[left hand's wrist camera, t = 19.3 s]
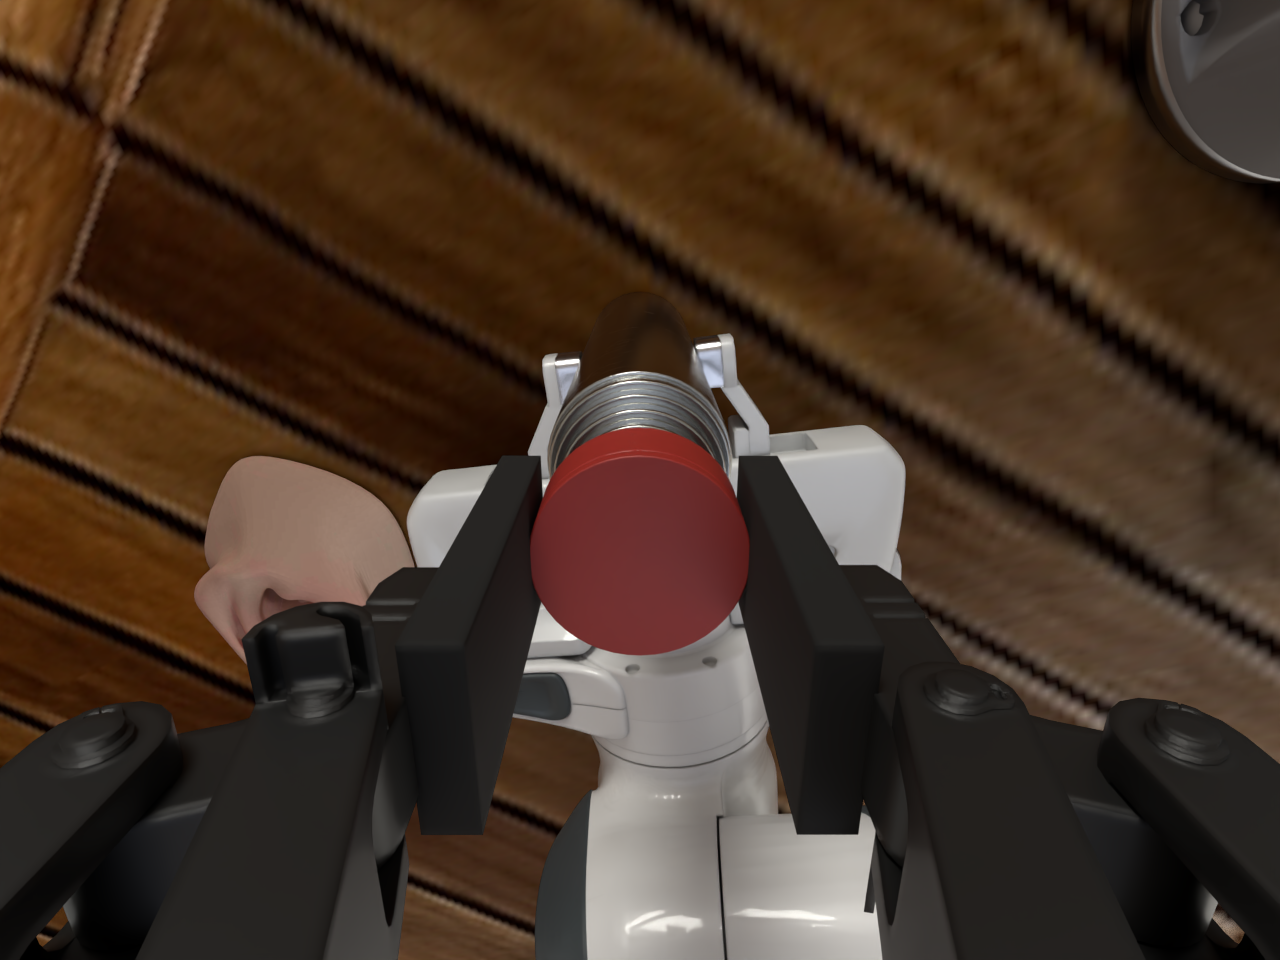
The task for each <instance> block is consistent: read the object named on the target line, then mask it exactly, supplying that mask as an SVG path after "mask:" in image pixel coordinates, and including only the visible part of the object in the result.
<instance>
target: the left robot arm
mask: <svg viewBox="0 0 1280 960" xmlns="http://www.w3.org/2000/svg"><path fill="white" fill-rule="evenodd" d="M1131 46H1132V58H1133V64H1134V70H1135V76H1136V80H1137V83H1138V87H1139V90H1140V94H1141V96H1142V99H1143V101H1144V104H1145V106H1146V109H1147V111H1148V113H1149V114H1150V116H1151V118H1152V120H1153V122H1154V124H1155V125H1156V127H1157V128H1158V129H1159V131H1160V132H1161V134H1162V135H1163V136H1164V138H1165V139H1166V140H1167V141H1168V142H1169V143H1170V144H1171V145H1172V146H1173V147H1174V149H1175V150H1177V151H1178V152H1179V153H1180V154H1181V155H1183V156H1184V157H1185V158H1186V159H1187V160H1189V161H1191V162H1192V163H1194V164H1195V165H1197V166H1198V167H1200V168H1202V169H1204V170H1206V171H1208V172H1210V173H1213V174H1215V175H1218V176H1221V177H1224V178H1227V179H1231V180H1236V181H1241V182H1247V183H1259V184H1268V183H1280V0H1133V7H1132V16H1131ZM542 499H543V489H542V470H541V456H502V457H501V459H500V460H499V462H498V464H497V466H496V467H495V469H494V471H493V473H492V475H491V476H490V478H489V480H488V482H487V483H486V485H485V487H484V489H483V490H482V492H481V494H480V496H479V497H478V499H477V501H476V503H475V505H474V506H473V508H472V510H471V512H470V513H469V515H468V517H467V519H466V520H465V522H464V524H463V526H462V528H461V529H460V531H459V533H458V535H457V536H456V538H455V540H454V542H453V543H452V545H451V547H450V549H449V550H448V552H447V554H446V556H445V558H444V559H443V561H442V563H441V565H440V566H439V567H403V568H401V569H400V570H398V571H396V572H395V573H393V574H392V575H390V576H389V577H387V578H386V579H384V580H383V581H381V582H380V583H378V585H377V586H376V588H375V589H374V591H373V592H372V593H371V595H370V596H369V598H368V599H367V600H366V605H363V606H359V605H355V604H351V603H347V602H317V603H311V604H306V605H300V606H296V607H293V608H290V609H287V610H285V611H282V612H279V613H276V614H273V615H272V616H270V617H268V618H267V619H265V620H263V621H261V622H260V623H258V624H256V625H255V626H253V627H252V628H251V630H250V631H249V632H248V633H247V634H246V635H245V636H244V637H243V638H242V639H241V640H242V644H243V649H244V653H245V657H246V662H247V666H248V671H249V675H250V679H251V684H252V688H253V693H254V697H255V701H256V705H255V708H254V710H253V712H252V714H251V716H250V718H248V719H245V720H241V721H237V722H234V723H230V724H225V725H220V726H215V727H210V728H205V729H200V730H195V731H190V732H185V733H181V734H177V732H176V729H175V725H174V722H173V718H172V714H171V713H170V712H169V711H167V710H166V709H165V708H164V707H163V706H162V705H159V704H154V703H148V702H143V701H139V702H128V703H117V704H111V705H106V706H103V707H102V708H99V707H98V708H95V709H92V710H89V711H86V712H84V713H82V714H80V715H78V716H76V717H74V718H72V719H70V720H67V721H65V722H63V723H61V724H58V725H57V726H55V727H54V728H52V729H51V730H49V731H48V732H46V733H45V734H43V735H42V736H40V737H39V738H37V739H36V740H34V741H33V742H32V743H31V744H29V745H28V746H27V747H26V748H25V749H23V750H22V751H21V752H20V753H19V754H17V755H16V756H15V757H14V758H12V759H11V760H10V761H9V762H8V763H6V764H5V765H4V766H3V767H2V768H0V960H398V953H399V945H400V937H401V928H402V920H403V912H404V904H405V895H406V887H407V879H408V871H409V860H408V852H407V845H406V838H405V831H406V828H407V825H408V823H409V820H410V817H411V815H412V812H413V809H414V807H415V804H416V802H417V808H418V815H419V822H420V829H421V835H483V832H484V828H485V824H486V820H487V816H488V812H489V808H490V804H491V800H492V796H493V792H494V788H495V784H496V780H497V776H498V772H499V768H500V764H501V760H502V756H503V752H504V748H505V744H506V740H507V736H508V732H509V728H510V724H511V720H512V717H513V713H514V709H515V705H516V701H517V697H518V693H519V689H520V685H521V681H522V677H523V673H524V669H525V665H526V661H527V657H528V653H529V649H530V645H531V641H532V637H533V633H534V629H535V625H536V621H537V617H538V613H539V609H540V605H541V600H540V599H539V597H538V594H537V592H536V590H535V588H534V585H533V581H532V572H531V556H530V535H531V532H532V529H533V525H534V522H535V519H536V517H537V513H538V510H539V508H540V505H541V502H542ZM737 500H738V503H739V506H740V509H741V512H742V515H743V518H744V521H745V524H746V527H747V530H748V533H749V539H750V547H749V565H748V579H747V584H746V586H745V589H744V591H743V593H742V596H741V598H740V599H739V601H738V603H739V607H740V611H741V615H742V619H743V623H744V627H745V631H746V635H747V639H748V643H749V647H750V651H751V655H752V659H753V663H754V667H755V671H756V675H757V679H758V683H759V687H760V691H761V695H762V698H763V702H764V706H765V710H766V714H767V718H768V722H769V726H770V730H771V734H772V738H773V742H774V746H775V750H776V754H777V758H778V762H779V766H780V770H781V774H782V778H783V782H784V786H785V790H786V794H787V798H788V802H789V806H790V810H791V814H792V818H793V822H794V826H795V829H796V833H797V835H858V833H859V826H860V819H861V812H862V805H863V799H864V802H865V804H866V807H867V810H868V812H869V815H870V818H871V820H872V823H873V825H874V828H875V831H876V832H875V838H874V845H873V852H872V858H871V865H870V871H869V878H868V885H867V891H866V898H865V906H864V912H867V913H874V907H875V902H876V910H877V918H878V927H879V935H880V943H881V951H882V960H1280V764H1279V763H1278V762H1276V761H1275V760H1274V759H1273V758H1271V757H1270V756H1269V755H1268V754H1267V753H1265V752H1264V751H1263V750H1262V749H1260V748H1259V747H1258V746H1257V745H1256V744H1254V743H1253V742H1252V741H1251V740H1249V739H1248V738H1247V737H1246V736H1244V735H1243V734H1241V733H1240V732H1238V731H1237V730H1235V729H1233V728H1232V727H1230V726H1229V725H1227V724H1226V723H1224V722H1223V721H1221V720H1219V719H1217V718H1214V717H1212V716H1210V715H1208V714H1205V713H1203V712H1201V711H1199V710H1198V709H1196V708H1193V707H1190V706H1187V705H1184V704H1181V705H1180V704H1178V703H1176V702H1171V701H1166V700H1156V699H1145V698H1135V699H1130V700H1125V701H1119V702H1118V703H1117V704H1116V705H1115V706H1114V707H1112V708H1111V709H1110V710H1109V712H1108V716H1107V719H1106V723H1105V727H1104V730H1103V731H1101V730H1096V729H1091V728H1086V727H1081V726H1076V725H1071V724H1066V723H1061V722H1056V721H1051V720H1047V719H1043V718H1040V717H1036V716H1032V715H1029V713H1028V711H1027V708H1026V706H1025V704H1024V703H1023V701H1022V700H1021V699H1020V698H1019V696H1018V695H1017V694H1016V692H1015V691H1014V690H1013V689H1012V688H1011V687H1009V686H1008V685H1007V684H1005V683H1004V682H1002V681H1001V680H999V679H998V678H996V677H995V676H993V675H991V674H988V673H986V672H984V671H981V670H979V669H976V668H974V667H972V666H967V665H962V664H960V663H959V662H958V660H957V659H956V657H955V656H954V654H953V653H952V652H951V650H950V649H949V647H948V646H947V645H946V643H945V642H944V640H943V639H942V638H941V636H940V635H939V633H938V632H937V631H936V629H935V628H934V626H933V625H932V623H931V622H930V621H929V619H928V618H925V614H924V612H923V611H922V609H921V608H920V607H919V605H918V604H917V603H914V598H913V597H912V595H911V594H910V592H909V591H908V590H907V588H906V587H905V585H904V584H903V583H902V581H901V580H899V579H898V578H896V577H895V576H893V575H892V574H890V573H889V572H887V571H885V570H884V569H882V568H881V567H879V566H878V565H839V564H838V562H837V560H836V558H835V557H834V555H833V553H832V551H831V550H830V548H829V546H828V544H827V543H826V541H825V539H824V537H823V535H822V534H821V532H820V530H819V528H818V527H817V525H816V523H815V521H814V520H813V518H812V516H811V514H810V512H809V511H808V509H807V507H806V505H805V504H804V502H803V500H802V498H801V497H800V495H799V493H798V491H797V489H796V488H795V486H794V484H793V482H792V481H791V479H790V477H789V475H788V474H787V472H786V470H785V468H784V467H783V465H782V463H781V461H780V459H779V458H778V456H739V461H738V480H737ZM1217 903H1219V904H1220V905H1221V906H1222V907H1223V909H1224V910H1225V911H1226V912H1227V913H1228V914H1229V915H1230V916H1231V918H1232V919H1233V920H1234V921H1235V922H1236V923H1237V924H1238V925H1239V927H1240V928H1241V929H1242V930H1243V931H1244V932H1245V934H1244V936H1243V938H1242V941H1241V942H1240V943H1239V944H1238V943H1236V942H1234V941H1233V940H1232V939H1231V938H1230V937H1229V936H1228V935H1227V934H1226V933H1225V932H1224V931H1223V930H1222V929H1221V928H1220V927H1219V925H1218V924H1217V923H1216V922H1215V921H1214V920H1213V918H1212V916H1213V914H1214V911H1215V908H1216V906H1217ZM62 907H63V908H64V910H65V913H66V915H67V918H68V920H69V921H68V922H67V923H66V924H65V926H64V927H63V928H62V929H61V930H60V932H59V933H58V934H57V935H56V936H55V937H54V938H52V939H51V940H50V941H49V942H48V943H47V944H45V945H44V946H43V947H42V946H41V945H40V944H39V943H38V940H37V938H36V936H37V935H38V934H39V933H40V932H41V930H42V929H43V928H44V927H45V926H46V925H47V924H48V922H49V921H50V920H51V919H52V918H53V917H54V916H55V914H56V913H57V912H58V911H59V910H60V909H61V908H62Z"/></svg>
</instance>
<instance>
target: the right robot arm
mask: <svg viewBox="0 0 1280 960" xmlns="http://www.w3.org/2000/svg"><path fill="white" fill-rule="evenodd" d="M694 349H695V351H696V354H697V356H698V359H699V361H700V364H701V366H702V368H703V371H704V373H705V376H706V378H707V381H708V383H709V386H710V388H718V387H721V389H722V391H723V392H724V393H725V395H726V396H727V398H728V399H729V400H730V402H731V403H732V405H733V406H734V408H735V409H736V410H737V412H738V413H739V415H731V416H730V417H729V418H728V428H729V437H730V441H731V448H732V469H731V477H730V482H731V484H732V486H733V489H734V492H735V495H736V498H737V480H738V461H739V456H778V458H779V459H780V461H781V463H782V465H783V467H784V468H785V470H786V472H787V474H788V475H789V477H790V479H791V481H792V482H793V484H794V486H795V488H796V489H797V491H798V493H799V495H800V497H801V498H802V500H803V502H804V504H805V505H806V507H807V509H808V511H809V512H810V514H811V516H812V518H813V520H814V521H815V523H816V525H817V527H818V528H819V530H820V532H821V534H822V535H823V537H824V539H825V541H826V543H827V544H828V546H829V548H830V550H831V551H832V553H833V555H834V557H835V558H836V560H837V562H838V564H839V565H878V566H879V567H881V568H882V569H884V570H885V571H887V572H889V573H890V574H892V575H893V576H895V577H896V578H898V579H899V580H901V557H900V554H899V551H898V549H897V543H898V538H899V532H900V526H901V520H902V512H903V503H904V492H905V476H906V474H905V465H904V462H903V460H902V458H901V457H900V455H899V454H898V453H897V451H896V450H895V449H894V448H893V447H892V446H891V445H890V444H889V443H888V442H887V441H886V440H885V439H884V438H883V437H881V436H880V435H879V434H877V433H876V432H875V431H874V430H872V429H871V428H869V427H867V426H864V425H854V426H845V427H836V428H827V429H818V430H809V431H799V432H790V433H781V434H772V435H769V425H768V424H767V422H766V420H765V419H764V417H763V415H762V414H761V412H760V411H759V409H758V408H757V406H756V405H755V403H754V402H753V401H752V399H751V398H750V396H749V395H748V393H747V392H746V391H745V389H744V388H743V386H742V385H741V383H740V382H739V381H738V379H737V371H736V357H735V346H734V340H733V337H732V336H731V335H730V334H722V335H713V336H705V337H698V338H694ZM582 355H583V354H582V351H578V352H567V353H556V354H549V355H545V357H544V358H543V376H544V382H545V388H546V394H547V401H548V403H547V405H546V407H545V410H544V412H543V415H542V417H541V420H540V422H539V425H538V427H537V430H536V433H535V435H534V438H533V440H532V443H531V445H530V448H529V450H528V456H541V470H542V489H543V496H544V493H545V490H546V487H547V485H548V483H549V481H550V479H549V472H548V462H547V454H548V445H549V440H550V435H551V433H552V430H553V427H554V424H555V422H556V419H557V417H558V414H559V412H560V409H561V407H562V405H563V402H564V400H565V397H566V395H567V392H568V390H569V387H570V385H571V382H572V380H573V377H574V375H575V372H576V370H577V367H578V365H579V363H580V360H581V358H582ZM496 466H497V465H490V466H480V467H471V468H462V469H453V470H445V471H440V472H438V473H436V474H435V475H434V476H433V477H432V478H431V479H430V480H429V481H428V482H427V484H426V485H425V486H424V487H423V488H422V489H421V491H420V492H419V494H418V495H417V497H416V498H415V500H414V502H413V504H412V506H411V508H410V510H409V513H408V517H407V529H408V534H409V539H410V543H411V547H412V550H413V554H414V557H415V561H416V564H417V567H439V566H440V565H441V563H442V561H443V559H444V558H445V556H446V554H447V552H448V550H449V549H450V547H451V545H452V543H453V542H454V540H455V538H456V536H457V535H458V533H459V531H460V529H461V528H462V526H463V524H464V522H465V520H466V519H467V517H468V515H469V513H470V512H471V510H472V508H473V506H474V505H475V503H476V501H477V499H478V497H479V496H480V494H481V492H482V490H483V489H484V487H485V485H486V483H487V482H488V480H489V478H490V476H491V475H492V473H493V471H494V469H495V467H496ZM513 717H515V718H521V719H527V720H533V721H538V722H543V723H548V724H553V725H557V726H562V727H566V728H570V729H574V730H577V731H581V732H584V733H587V734H590V735H591V736H592V738H593V740H594V742H595V744H596V747H597V749H598V751H599V756H600V761H601V762H600V767H599V773H598V788H597V789H596V790H594V791H593V790H590V791H589V792H588V793H587V794H586V795H585V796H584V797H583V798H582V800H581V801H580V802H579V803H578V805H577V806H576V808H575V809H574V810H573V812H572V814H571V815H570V817H569V818H568V820H567V821H566V823H565V824H564V826H563V828H562V829H561V831H560V833H559V834H558V836H557V837H556V839H555V841H554V843H553V845H552V847H551V849H550V851H549V854H548V857H547V859H546V862H545V866H544V869H543V873H542V877H541V881H540V886H539V892H538V899H537V908H536V918H535V954H536V960H882V951H881V943H880V935H879V927H878V918H877V910H876V902H875V907H874V913H867V912H864V906H865V898H866V891H867V885H868V878H869V871H870V865H871V858H872V852H873V845H874V838H875V832H876V831H875V828H874V825H873V823H872V820H871V818H870V815H869V812H868V810H867V807H866V805H864V806H862V812H861V819H860V826H859V833H858V835H797V833H796V829H795V826H794V822H793V818H792V814H778V790H777V775H776V767H775V762H774V759H773V756H772V753H771V751H770V748H769V746H768V744H767V742H766V735H767V731H768V728H769V722H768V718H767V714H766V710H765V706H764V702H763V698H762V695H761V691H760V687H759V683H758V679H757V675H756V671H755V667H754V663H753V659H752V655H751V651H750V647H749V643H748V639H747V635H746V631H745V627H744V623H743V619H742V615H741V611H740V607H739V603H737V604H736V606H735V608H734V609H733V610H732V612H731V613H730V614H729V615H728V617H727V618H726V619H725V620H724V621H723V622H722V623H721V624H720V625H719V626H718V627H717V628H716V629H714V630H713V631H712V632H710V633H709V634H708V635H706V636H705V637H703V638H702V639H700V640H698V641H696V642H695V643H693V644H690V645H688V646H686V647H683V648H681V649H677V650H674V651H671V652H667V653H661V654H656V655H642V656H640V655H625V654H618V653H613V652H609V651H605V650H602V649H599V648H597V647H594V646H592V645H589V644H587V643H585V642H583V641H582V640H580V639H578V638H576V637H575V636H573V635H572V634H570V633H569V632H568V631H566V630H565V629H564V628H563V627H562V626H561V625H560V624H558V623H557V622H556V621H555V620H554V618H553V617H552V616H551V615H550V614H549V612H548V611H547V610H546V608H545V607H544V605H543V604H542V602H541V605H540V609H539V613H538V617H537V621H536V625H535V629H534V633H533V637H532V641H531V645H530V649H529V653H528V657H527V661H526V665H525V669H524V673H523V677H522V681H521V685H520V689H519V693H518V697H517V701H516V705H515V709H514V713H513Z"/></svg>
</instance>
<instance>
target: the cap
mask: <svg viewBox="0 0 1280 960" xmlns="http://www.w3.org/2000/svg"><path fill="white" fill-rule="evenodd" d="M749 547H750V539H749V533H748V530H747V527H746V524H745V521H744V518H743V515H742V512H741V509H740V506H739V503H738V500H737V498H736V495H735V492H734V489H733V486H732V484H731V482H730V480H729V478H728V476H727V474H726V473H725V471H724V470H723V469H722V467H721V466H720V464H719V463H718V462H717V461H716V460H715V459H714V458H713V457H712V456H711V455H710V454H709V453H708V452H706V451H705V450H704V449H703V448H702V447H700V446H699V445H697V444H695V443H694V442H692V441H691V440H689V439H686V438H684V437H682V436H680V435H677V434H674V433H671V432H668V431H664V430H659V429H653V428H627V429H621V430H616V431H611V432H608V433H605V434H602V435H599V436H597V437H595V438H593V439H591V440H589V441H587V442H586V443H584V444H583V445H581V446H580V447H578V448H577V449H575V450H574V451H573V452H572V453H571V454H570V455H568V456H567V457H566V458H565V459H564V461H563V462H562V463H561V464H560V465H559V466H558V468H557V469H556V471H555V472H554V474H553V475H552V477H551V479H550V481H549V483H548V485H547V487H546V490H545V493H544V496H543V499H542V502H541V505H540V508H539V510H538V513H537V517H536V519H535V522H534V525H533V529H532V532H531V535H530V556H531V572H532V581H533V585H534V588H535V590H536V592H537V594H538V597H539V599H540V600H541V602H542V604H543V605H544V607H545V608H546V610H547V611H548V612H549V614H550V615H551V616H552V617H553V618H554V620H555V621H556V622H557V623H558V624H560V625H561V626H562V627H563V628H564V629H565V630H566V631H568V632H569V633H570V634H572V635H573V636H575V637H576V638H578V639H580V640H582V641H583V642H585V643H587V644H589V645H592V646H594V647H597V648H599V649H602V650H605V651H609V652H613V653H618V654H625V655H640V656H642V655H656V654H661V653H667V652H671V651H674V650H677V649H681V648H683V647H686V646H688V645H690V644H693V643H695V642H696V641H698V640H700V639H702V638H703V637H705V636H706V635H708V634H709V633H710V632H712V631H713V630H714V629H716V628H717V627H718V626H719V625H720V624H721V623H722V622H723V621H724V620H725V619H726V618H727V617H728V615H729V614H730V613H731V612H732V610H733V609H734V608H735V606H736V604H737V603H738V601H739V599H740V598H741V596H742V593H743V591H744V589H745V586H746V584H747V579H748V565H749Z"/></svg>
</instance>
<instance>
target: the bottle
mask: <svg viewBox="0 0 1280 960" xmlns="http://www.w3.org/2000/svg"><path fill="white" fill-rule="evenodd" d="M627 428H653V429H659V430H664V431H668V432H671V433H674V434H677V435H680V436H682V437H684V438H686V439H689V440H691V441H692V442H694V443H695V444H697V445H699V446H700V447H702V448H703V449H704V450H705V451H706V452H708V453H709V454H710V455H711V456H712V457H713V458H714V459H715V460H716V461H717V462H718V463H719V464H720V466H721V467H722V469H723V470H724V471H725V473H726V474H727V476H728V478H729V480H730V477H731V469H732V448H731V441H730V437H729V434H728V431H727V428H726V426H725V423H724V421H723V418H722V416H721V413H720V411H719V408H718V406H717V403H716V401H715V398H714V396H713V393H712V391H711V388H710V386H709V383H708V381H707V378H706V376H705V373H704V371H703V368H702V366H701V364H700V361H699V359H698V356H697V354H696V351H695V349H694V346H693V344H692V341H691V339H690V336H689V334H688V331H687V329H686V326H685V324H684V321H683V319H682V317H681V315H680V314H679V312H678V311H677V310H676V308H675V307H674V306H673V305H672V304H671V303H669V302H668V301H667V300H665V299H664V298H662V297H660V296H658V295H655V294H651V293H646V292H633V293H628V294H625V295H622V296H620V297H618V298H616V299H614V300H613V301H612V302H610V303H609V304H608V305H607V306H606V307H605V308H604V309H603V310H602V312H601V313H600V315H599V317H598V319H597V321H596V323H595V326H594V328H593V330H592V333H591V335H590V338H589V340H588V343H587V345H586V348H585V350H584V353H583V355H582V358H581V360H580V363H579V365H578V367H577V370H576V372H575V375H574V377H573V380H572V382H571V385H570V387H569V390H568V392H567V395H566V397H565V400H564V402H563V405H562V407H561V409H560V412H559V414H558V417H557V419H556V422H555V424H554V427H553V430H552V433H551V435H550V440H549V445H548V454H547V462H548V472H549V479H551V477H552V475H553V474H554V472H555V471H556V469H557V468H558V466H559V465H560V464H561V463H562V462H563V461H564V459H565V458H566V457H567V456H568V455H570V454H571V453H572V452H573V451H574V450H575V449H577V448H578V447H580V446H581V445H583V444H584V443H586V442H587V441H589V440H591V439H593V438H595V437H597V436H599V435H602V434H605V433H608V432H611V431H616V430H621V429H627Z"/></svg>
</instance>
